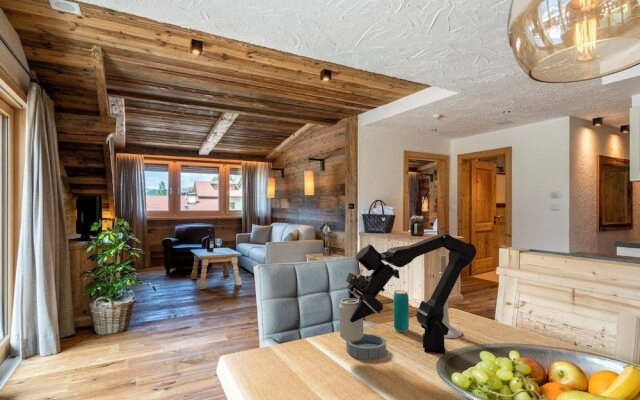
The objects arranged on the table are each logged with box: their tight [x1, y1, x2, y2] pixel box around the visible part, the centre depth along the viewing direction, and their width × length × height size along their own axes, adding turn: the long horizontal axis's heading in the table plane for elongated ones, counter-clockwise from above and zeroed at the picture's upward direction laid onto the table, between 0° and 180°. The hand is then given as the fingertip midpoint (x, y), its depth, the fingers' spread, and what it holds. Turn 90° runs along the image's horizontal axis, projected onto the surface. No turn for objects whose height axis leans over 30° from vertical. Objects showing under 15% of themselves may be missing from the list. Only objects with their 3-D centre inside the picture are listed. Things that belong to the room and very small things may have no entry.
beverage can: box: [392, 290, 410, 333], centre depth 138 cm, size 6×6×15 cm
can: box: [338, 297, 365, 342], centre depth 112 cm, size 8×8×12 cm
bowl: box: [345, 333, 387, 361], centre depth 118 cm, size 13×13×4 cm
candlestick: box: [438, 254, 463, 339], centre depth 135 cm, size 13×13×30 cm
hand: (347, 317), depth 112 cm, fingers closed on can, 7 cm apart
